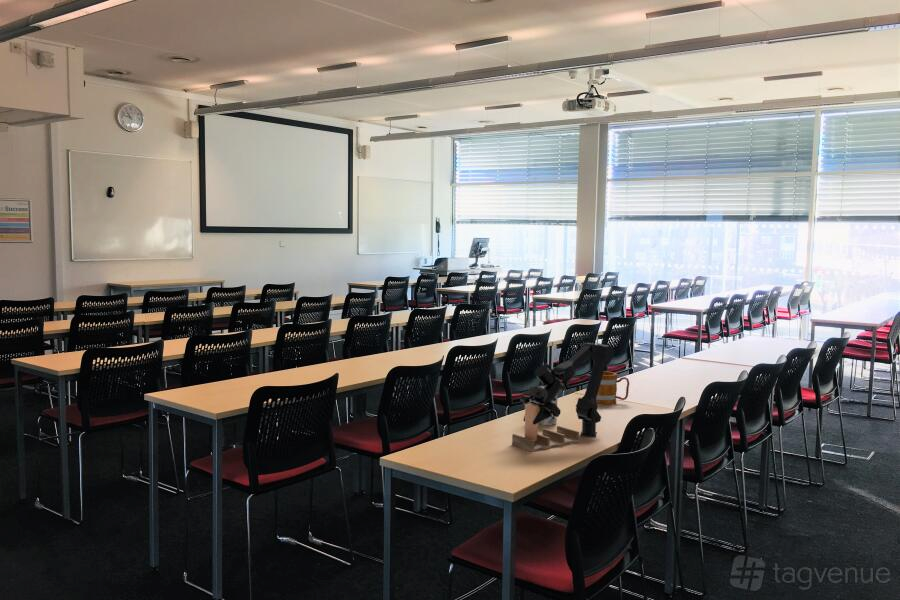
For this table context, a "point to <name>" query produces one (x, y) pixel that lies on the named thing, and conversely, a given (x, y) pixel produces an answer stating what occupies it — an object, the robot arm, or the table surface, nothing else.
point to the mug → (610, 389)
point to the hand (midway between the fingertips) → (528, 422)
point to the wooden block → (531, 421)
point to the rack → (547, 439)
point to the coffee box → (552, 419)
